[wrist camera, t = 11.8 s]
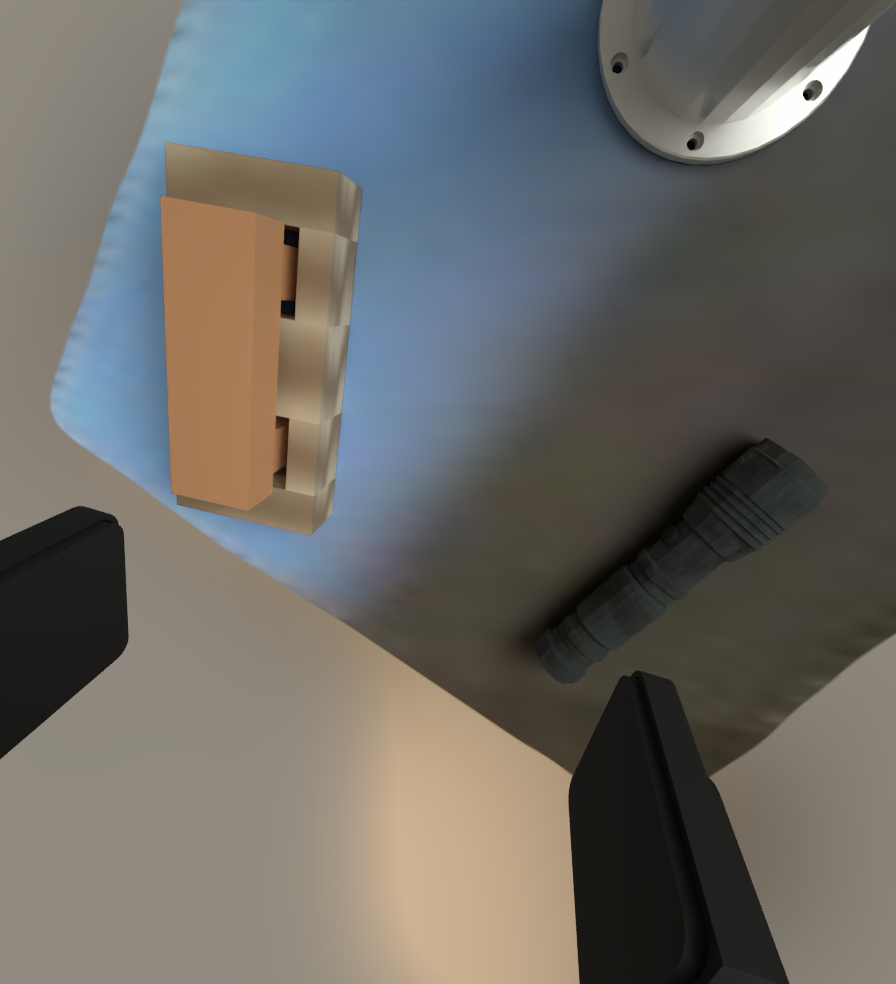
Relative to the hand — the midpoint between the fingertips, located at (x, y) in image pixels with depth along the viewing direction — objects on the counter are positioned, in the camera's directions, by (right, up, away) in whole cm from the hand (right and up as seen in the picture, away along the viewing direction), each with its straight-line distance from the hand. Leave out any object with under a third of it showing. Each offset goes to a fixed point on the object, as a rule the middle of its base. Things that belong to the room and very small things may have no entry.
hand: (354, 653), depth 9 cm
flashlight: (+17, -2, +27) cm, 31 cm away
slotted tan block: (-10, +12, +25) cm, 30 cm away
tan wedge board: (-10, +12, +25) cm, 30 cm away
